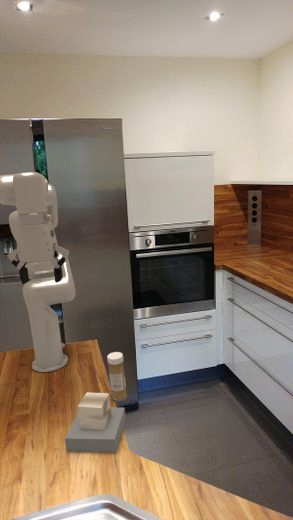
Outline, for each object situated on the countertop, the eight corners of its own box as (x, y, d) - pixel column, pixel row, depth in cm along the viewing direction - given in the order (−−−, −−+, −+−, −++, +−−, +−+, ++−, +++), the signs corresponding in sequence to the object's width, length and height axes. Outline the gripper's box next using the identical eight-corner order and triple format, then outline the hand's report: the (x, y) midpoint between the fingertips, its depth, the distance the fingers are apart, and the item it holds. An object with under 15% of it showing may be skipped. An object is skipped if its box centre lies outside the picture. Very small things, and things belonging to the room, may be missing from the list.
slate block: (82, 420, 96) (80, 407, 95) (125, 421, 94) (124, 407, 93) (66, 453, 84) (64, 438, 83) (116, 454, 82) (114, 439, 81)
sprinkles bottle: (129, 394, 105) (125, 352, 103) (122, 402, 101) (118, 359, 99) (115, 391, 107) (111, 350, 104) (108, 400, 103) (104, 357, 100)
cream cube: (89, 413, 92) (86, 392, 91) (111, 414, 91) (109, 393, 89) (80, 428, 86) (77, 406, 85) (103, 430, 85) (101, 407, 84)
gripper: (69, 216, 97) (76, 277, 100) (10, 220, 99) (19, 279, 103) (58, 219, 89) (67, 284, 93) (-5, 223, 92) (5, 287, 96)
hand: (42, 282), depth 98 cm, fingers open, 9 cm apart
